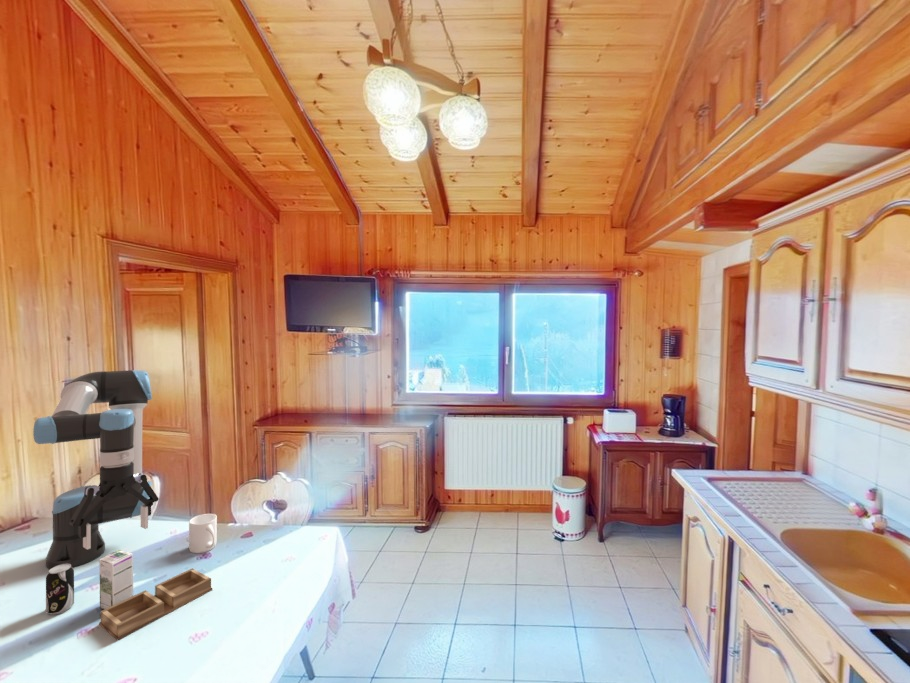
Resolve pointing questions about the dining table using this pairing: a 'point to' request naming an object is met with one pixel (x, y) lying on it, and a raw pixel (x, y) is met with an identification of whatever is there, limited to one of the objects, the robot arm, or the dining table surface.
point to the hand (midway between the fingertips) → (116, 537)
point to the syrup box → (115, 578)
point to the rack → (154, 603)
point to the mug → (202, 533)
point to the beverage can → (59, 589)
